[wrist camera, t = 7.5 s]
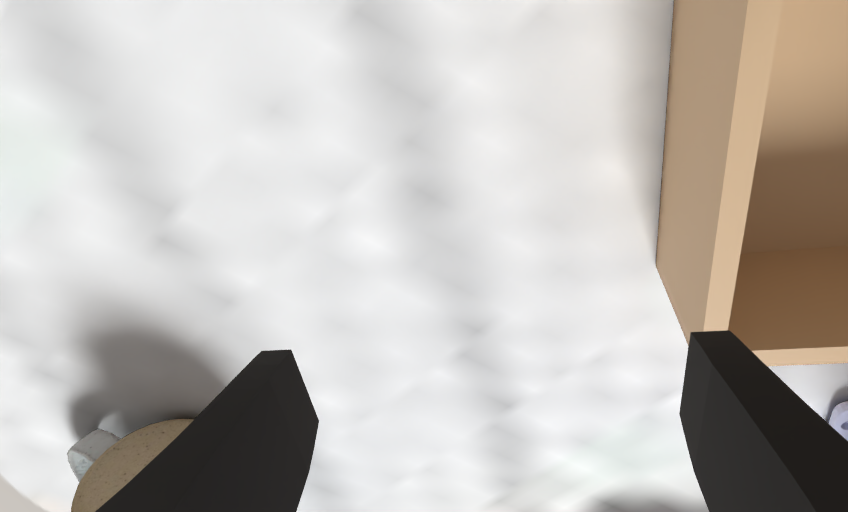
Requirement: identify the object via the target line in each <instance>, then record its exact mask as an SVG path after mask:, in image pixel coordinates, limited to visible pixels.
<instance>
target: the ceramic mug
mask: <svg viewBox="0 0 848 512" xmlns="http://www.w3.org/2000/svg"><path fill="white" fill-rule="evenodd" d="M193 420H194V419H174V420H167V421H162V422H158V423H154V424H150V425H148V426H146V427H143V428H141V429H139V430H136V431H134V432H132V433H130V434H128V435H127V436H125V437H124V438H122V439H121V438H119V437H117V436H116V435H114V434H112V433H110V432H108V431H104V430H102V429H98V430H94V431H92V432H91V433H89V434H88V435H87V436H85V437H84V438H82V439H81V440H79V441H78V442H77V443H76V444H75V445H73V446H72V447H71V448H70V450H69V451H68V453H67V454H68V461H69V463H70V466H71V469H72V470H73V472H74V474H75V476H76V477H77V479H78V481H79V485H78V487H77V490H76V493H75V496H74V499H73V502H72V508H71V512H95V511H96V510H97V509H99V508H100V507H101V506H102V505H103V504H104V503H106V502H107V501H108V500H109V499H110V498H111V497H113V496H114V495H115V494H116V493H117V492H118V491H119V490H121V489H122V488H123V487H124V486H125V485H126V484H127V483H128V482H130V481H131V480H132V479H133V478H134V477H135V476H136V475H137V474H138V473H139V472H140V471H141V470H142V469H143V468H144V467H146V466H147V465H148V464H149V463H150V462H151V461H152V460H153V459H154V458H155V457H156V456H157V455H158V454H159V453H160V452H162V451H163V450H164V449H165V448H166V447H167V446H168V445H169V444H170V443H171V442H172V441H173V440H174V439H175V438H176V437H177V436H178V435H179V434H180V433H181V432H182V431H183V430H184V429H185V428H186V427H187V426H188V425H189V424H190V423H191V422H192V421H193Z"/></svg>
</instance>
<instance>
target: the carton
mask: <svg viewBox="0 0 848 512" xmlns="http://www.w3.org/2000/svg"><path fill="white" fill-rule="evenodd" d="M656 268H657V270H658V272H659V275H660V277H661V280H662V282H663V285H664V287H665V290H666V292H667V294H668V297H669V299H670V302H671V304H672V307H673V309H674V311H675V314H676V316H677V319H678V321H679V324H680V326H681V328H682V331H683V333H684V336H685V338H686V341H687V343H688V346H689V340H690V333H691V332H703V331H725V330H730V331H731V332H732V333H733V334H734V335H736V336H737V337H738V338H739V339H740V340H741V341H742V342H743V343H744V344H745V345H746V346H747V347H748V348H749V349H750V350H751V351H752V352H753V353H754V354H755V355H756V356H757V357H758V358H759V359H760V360H761V361H762V362H763V363H764V364H765V365H766V366H784V365H809V364H835V363H848V0H674V9H673V23H672V38H671V52H670V67H669V81H668V96H667V110H666V125H665V139H664V154H663V168H662V183H661V197H660V212H659V226H658V240H657V255H656Z"/></svg>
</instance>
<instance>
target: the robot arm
mask: <svg viewBox="0 0 848 512" xmlns="http://www.w3.org/2000/svg"><path fill="white" fill-rule="evenodd" d="M680 418H681V422H682V426H683V430H684V434H685V438H686V442H687V446H688V450H689V454H690V458H691V461H692V465H693V469H694V472H695V475H696V478H697V480H698V483H699V486H700V488H701V491H702V494H703V496H704V499H705V502H706V504H707V507H708V509H709V512H848V401H847V402H842V403H840V404H838V405H837V406H835V408H834V409H833V411H832V414H831V417H830V420H829V423H827V422H826V421H825V420H824V419H823V418H822V417H820V416H819V415H818V414H817V413H816V412H815V411H814V410H813V409H812V408H810V407H809V406H808V405H807V404H806V403H805V402H804V401H803V400H802V399H801V398H800V397H799V396H798V395H796V394H795V393H794V392H793V391H792V390H791V389H790V388H789V387H788V386H787V385H786V384H785V383H784V382H783V381H782V380H781V379H780V378H779V377H778V376H777V375H776V374H774V373H773V372H772V371H771V370H770V369H769V368H768V367H767V366H766V365H765V364H764V363H763V362H762V361H761V360H760V359H759V358H758V357H757V356H756V355H755V354H754V353H753V352H752V351H751V350H750V349H749V348H748V347H747V346H746V345H745V344H744V343H743V342H742V341H741V340H740V339H739V338H738V337H737V336H736V335H734V334H733V333H732V332H731V331H730V330H725V331H703V332H691V333H690V340H689V348H688V355H687V363H686V370H685V377H684V385H683V392H682V399H681V407H680ZM318 423H319V420H318V418H317V415H316V412H315V410H314V407H313V405H312V402H311V400H310V397H309V394H308V392H307V389H306V387H305V384H304V382H303V379H302V376H301V374H300V371H299V369H298V366H297V364H296V361H295V358H294V356H293V353H292V351H291V350H274V351H261V352H260V353H259V354H258V355H257V356H256V357H255V358H254V359H253V360H252V361H251V362H250V363H249V364H248V365H247V366H246V367H245V368H244V369H243V370H242V371H241V372H240V373H239V374H238V375H237V376H236V377H235V378H234V379H233V380H232V381H231V382H230V383H229V385H228V386H227V387H226V388H225V389H224V390H223V391H222V392H221V393H220V394H219V395H218V396H217V397H216V398H215V399H214V400H213V401H212V402H211V403H210V404H209V405H208V406H207V407H206V408H205V409H204V410H203V411H202V412H201V413H200V414H199V415H198V416H197V417H196V418H195V419H194V420H193V421H192V422H191V423H190V424H189V425H188V426H187V427H186V428H185V429H184V430H183V431H182V432H181V433H180V434H179V435H178V436H177V437H176V438H175V439H174V440H173V441H172V442H171V443H170V444H169V445H168V446H167V447H166V448H165V449H164V450H163V451H162V452H160V453H159V454H158V455H157V456H156V457H155V458H154V459H153V460H152V461H151V462H150V463H149V464H148V465H147V466H146V467H144V468H143V469H142V470H141V471H140V472H139V473H138V474H137V475H136V476H135V477H134V478H133V479H132V480H131V481H130V482H128V483H127V484H126V485H125V486H124V487H123V488H122V489H121V490H119V491H118V492H117V493H116V494H115V495H114V496H113V497H111V498H110V499H109V500H108V501H107V502H106V503H104V504H103V505H102V506H101V507H100V508H99V509H97V510H96V511H95V512H296V511H297V507H298V504H299V501H300V498H301V495H302V492H303V489H304V486H305V483H306V480H307V476H308V473H309V469H310V464H311V460H312V455H313V450H314V445H315V440H316V434H317V429H318Z"/></svg>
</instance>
